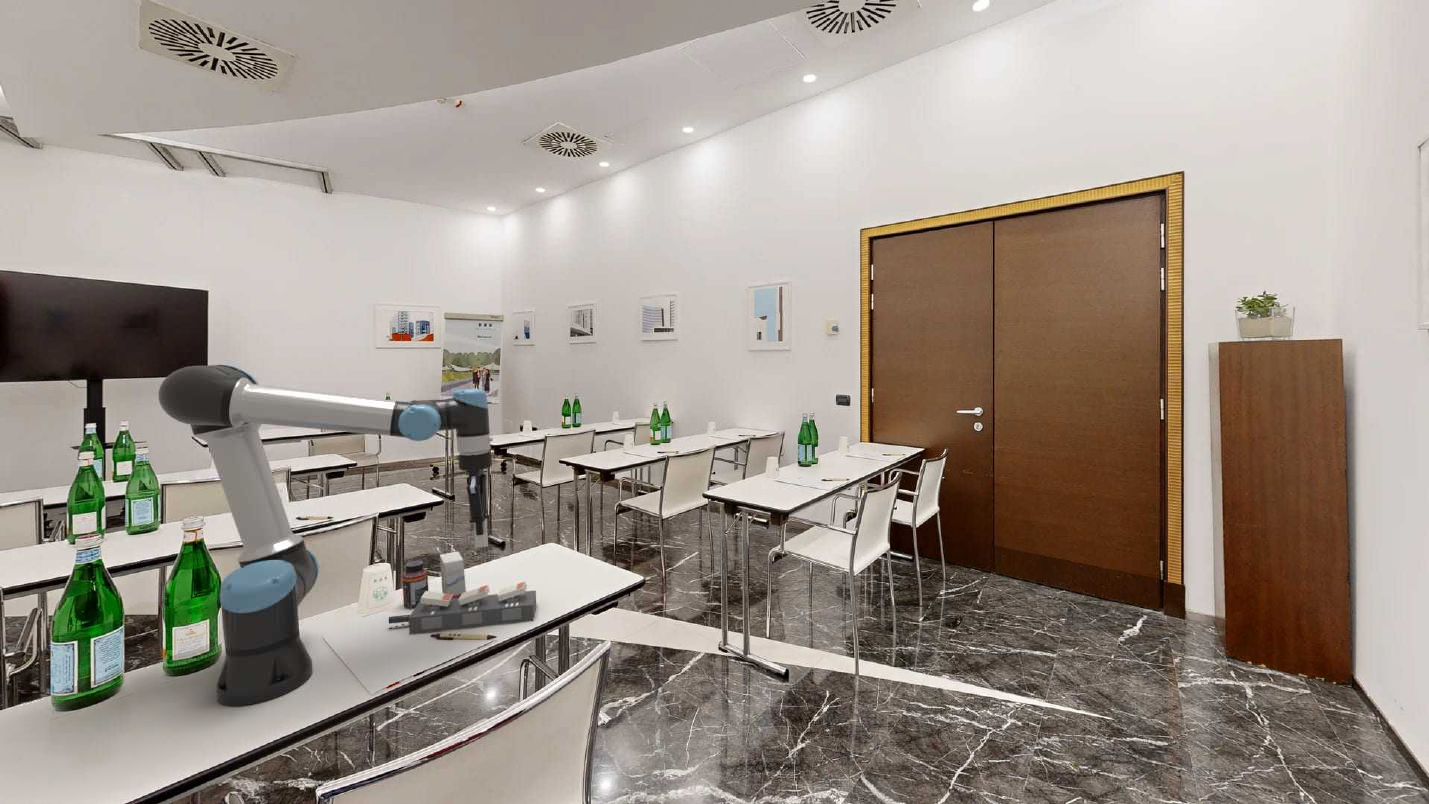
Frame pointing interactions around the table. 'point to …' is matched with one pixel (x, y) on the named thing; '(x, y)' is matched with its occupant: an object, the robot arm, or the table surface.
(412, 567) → the supplement bottle
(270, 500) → the robot arm
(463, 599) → the rocker
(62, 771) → the table surface
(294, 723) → the table surface
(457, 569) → the ink box
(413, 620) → the rocker switch strip
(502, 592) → the rocker
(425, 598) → the rocker
